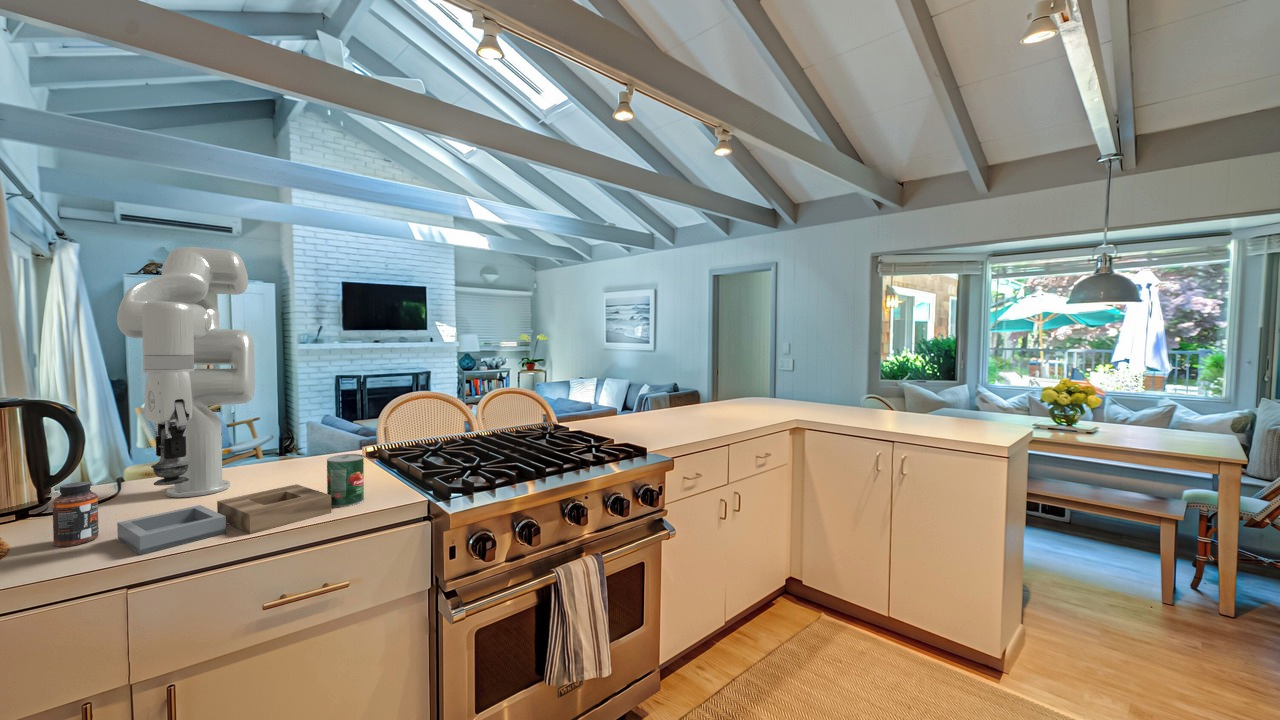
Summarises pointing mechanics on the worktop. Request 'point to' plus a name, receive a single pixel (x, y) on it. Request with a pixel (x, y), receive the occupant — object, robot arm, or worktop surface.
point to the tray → (170, 529)
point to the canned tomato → (345, 479)
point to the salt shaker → (169, 467)
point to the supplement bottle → (75, 515)
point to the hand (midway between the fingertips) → (171, 455)
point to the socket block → (274, 508)
